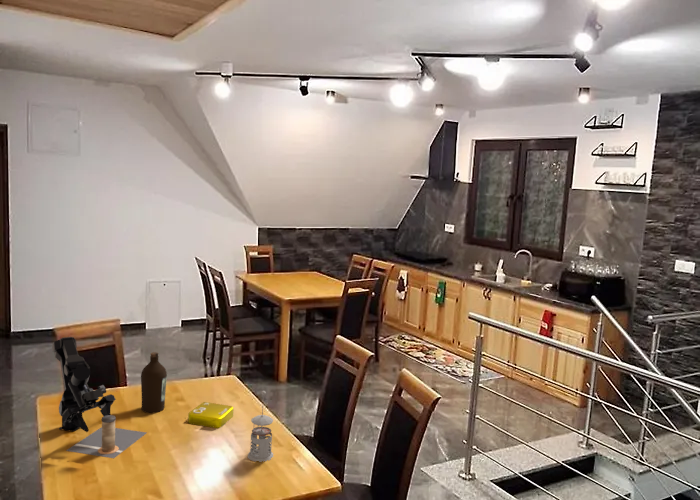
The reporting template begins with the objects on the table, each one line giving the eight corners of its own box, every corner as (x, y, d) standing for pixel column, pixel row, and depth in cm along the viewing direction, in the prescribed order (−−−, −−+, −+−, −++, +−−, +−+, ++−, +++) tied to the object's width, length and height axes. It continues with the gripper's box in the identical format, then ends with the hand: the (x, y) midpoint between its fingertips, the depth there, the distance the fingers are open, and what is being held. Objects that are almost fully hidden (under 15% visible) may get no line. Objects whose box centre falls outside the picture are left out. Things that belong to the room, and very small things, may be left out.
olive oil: (138, 414, 243) (139, 357, 240) (142, 404, 253) (143, 349, 250) (164, 413, 245) (166, 356, 242) (167, 403, 255) (168, 349, 253)
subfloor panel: (65, 454, 204) (65, 450, 204) (103, 429, 226) (103, 425, 226) (113, 462, 201) (114, 457, 201) (147, 436, 223) (147, 432, 222)
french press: (251, 463, 206) (254, 397, 203) (242, 449, 216) (245, 386, 214) (277, 459, 211) (280, 393, 208) (267, 445, 221) (270, 383, 218)
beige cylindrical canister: (98, 451, 205) (99, 419, 204) (106, 445, 209) (106, 414, 208) (110, 453, 204) (110, 421, 203) (117, 447, 209) (118, 416, 207)
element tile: (219, 429, 233) (220, 418, 233) (186, 424, 237) (186, 412, 236) (234, 415, 248) (235, 405, 247) (203, 410, 251) (203, 400, 251)
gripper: (67, 386, 202) (85, 425, 197) (113, 373, 218) (131, 408, 213) (53, 402, 207) (71, 440, 202) (99, 388, 223) (117, 423, 218)
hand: (99, 427), depth 209 cm, fingers open, 9 cm apart
